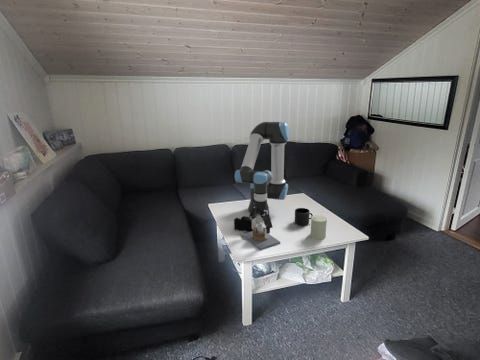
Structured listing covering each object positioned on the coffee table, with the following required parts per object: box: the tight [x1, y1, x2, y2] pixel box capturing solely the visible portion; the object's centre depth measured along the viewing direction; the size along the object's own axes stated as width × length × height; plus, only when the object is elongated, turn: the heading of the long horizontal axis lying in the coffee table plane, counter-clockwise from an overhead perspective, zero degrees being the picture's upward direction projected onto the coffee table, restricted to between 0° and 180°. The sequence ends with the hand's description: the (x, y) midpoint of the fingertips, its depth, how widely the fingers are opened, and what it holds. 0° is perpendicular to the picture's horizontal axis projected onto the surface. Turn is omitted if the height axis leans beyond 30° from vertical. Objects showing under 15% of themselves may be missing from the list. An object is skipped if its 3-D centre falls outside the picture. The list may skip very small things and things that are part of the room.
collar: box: [253, 226, 267, 241], centre depth 174 cm, size 8×8×5 cm
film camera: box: [233, 215, 258, 232], centre depth 189 cm, size 15×10×9 cm, turn 73°
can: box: [309, 214, 328, 240], centre depth 177 cm, size 9×9×12 cm
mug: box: [294, 207, 314, 227], centre depth 194 cm, size 9×12×9 cm
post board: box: [241, 222, 281, 251], centre depth 174 cm, size 20×14×11 cm
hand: (260, 233), depth 174 cm, fingers open, 13 cm apart
